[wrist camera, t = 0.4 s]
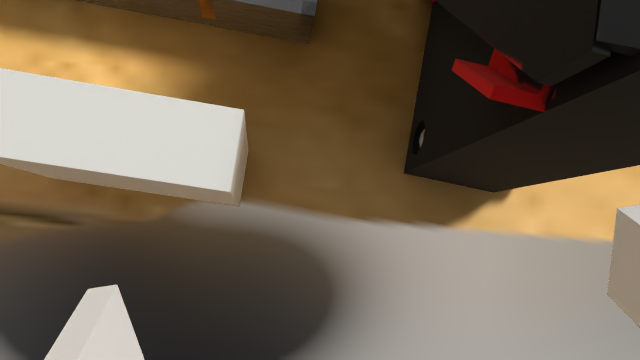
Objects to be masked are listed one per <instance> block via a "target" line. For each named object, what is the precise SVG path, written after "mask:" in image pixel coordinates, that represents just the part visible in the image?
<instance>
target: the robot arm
mask: <svg viewBox="0 0 640 360" xmlns="http://www.w3.org/2000/svg"><path fill="white" fill-rule="evenodd" d="M607 295H608V296H609V297H610V298H611V299H612V300H613V301H614V302H615V303H616V304H617V305H618V306H619V307H620V308H621V309H622V310H623V311H624V312H625V313H626V314H627V315H628V316H629V317H630V318H631V319H632V320H633V322H634V323H635V324H636V325H637V326H638V327H639V328H640V205H635V206H629V207H622V208H617V214H616V223H615V231H614V240H613V249H612V257H611V266H610V276H609V284H608V292H607ZM44 360H144V357H143V354H142V351H141V349H140V346H139V343H138V340H137V338H136V335H135V332H134V329H133V327H132V324H131V321H130V319H129V316H128V313H127V310H126V308H125V305H124V302H123V299H122V296H121V294H120V291H119V288H118V285H111V286H104V287H97V288H91V289H88V290H87V292H86V293H85V295H84V297H83V298H82V299H81V301H80V303H79V304H78V306H77V307H76V309H75V311H74V312H73V314H72V316H71V317H70V319H69V320H68V322H67V324H66V325H65V327H64V328H63V330H62V332H61V333H60V335H59V337H58V338H57V340H56V342H55V343H54V345H53V346H52V348H51V350H50V351H49V353H48V354H47V356H46V358H45V359H44Z"/></svg>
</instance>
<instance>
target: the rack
mask: <svg viewBox="0 0 640 360" xmlns="http://www.w3.org/2000/svg"><path fill="white" fill-rule="evenodd" d="M78 1H83V2H88V3H94V4H99V5H104V6H110V7H115V8H120V9H126V10H131V11H137V12H142V13H147V14H153V15H158V16H163V17H169V18H174V19H179V20H185V21H190V22H195V23H201V24H206V25H211V26H217V27H222V28H227V29H233V30H238V31H244V32H249V33H254V34H260V35H265V36H270V37H276V38H281V39H286V40H292V41H297V42H302V43H308V41H309V37H310V33H311V29H312V25H313V21H314V17H315V12H316V5H317V0H78Z"/></svg>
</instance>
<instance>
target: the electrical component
mask: <svg viewBox="0 0 640 360" xmlns="http://www.w3.org/2000/svg"><path fill="white" fill-rule="evenodd" d="M430 2H433V5H432V10H431V16H430V22H429V28H428V34H427V40H426V46H425V51H424V57H423V63H422V69H421V75H420V81H419V87H418V93H417V98H416V104H415V110H414V116H413V122H412V128H411V134H410V139H409V145H408V151H407V157H406V163H405V169H404V173H405V174H410V175H415V176H419V177H424V178H429V179H433V180H438V181H443V182H448V183H452V184H457V185H462V186H466V187H471V188H476V189H481V190H485V191H490V192H498V191H503V190H508V189H514V188H519V187H524V186H530V185H535V184H540V183H546V182H551V181H557V180H562V179H567V178H573V177H578V176H583V175H589V174H594V173H599V172H605V171H610V170H615V169H621V168H626V167H631V166H637V165H640V0H430Z"/></svg>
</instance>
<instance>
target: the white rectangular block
mask: <svg viewBox="0 0 640 360" xmlns="http://www.w3.org/2000/svg"><path fill="white" fill-rule="evenodd" d="M248 152H249V148H248V140H247V131H246V122H245V114H244V110H243V109H237V108H231V107H225V106H219V105H213V104H207V103H201V102H196V101H190V100H184V99H178V98H172V97H166V96H160V95H154V94H149V93H143V92H137V91H131V90H125V89H119V88H113V87H108V86H102V85H96V84H90V83H84V82H78V81H72V80H66V79H61V78H55V77H49V76H43V75H37V74H31V73H25V72H19V71H14V70H8V69H2V68H0V164H2V165H6V166H10V167H13V168H17V169H20V170H24V171H27V172H31V173H35V174H38V175H42V176H45V177H49V178H53V179H60V180H67V181H73V182H80V183H87V184H93V185H100V186H107V187H113V188H120V189H127V190H133V191H140V192H147V193H153V194H160V195H167V196H173V197H180V198H187V199H193V200H200V201H206V202H213V203H220V204H226V205H233V206H240V200H241V194H242V188H243V182H244V176H245V170H246V164H247V158H248Z"/></svg>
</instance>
